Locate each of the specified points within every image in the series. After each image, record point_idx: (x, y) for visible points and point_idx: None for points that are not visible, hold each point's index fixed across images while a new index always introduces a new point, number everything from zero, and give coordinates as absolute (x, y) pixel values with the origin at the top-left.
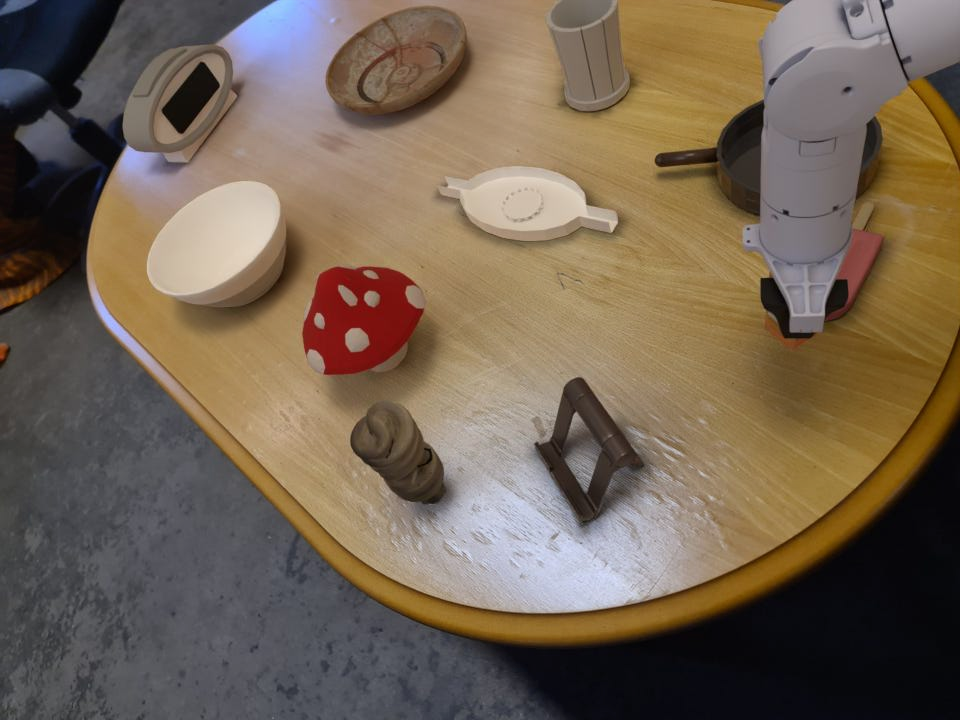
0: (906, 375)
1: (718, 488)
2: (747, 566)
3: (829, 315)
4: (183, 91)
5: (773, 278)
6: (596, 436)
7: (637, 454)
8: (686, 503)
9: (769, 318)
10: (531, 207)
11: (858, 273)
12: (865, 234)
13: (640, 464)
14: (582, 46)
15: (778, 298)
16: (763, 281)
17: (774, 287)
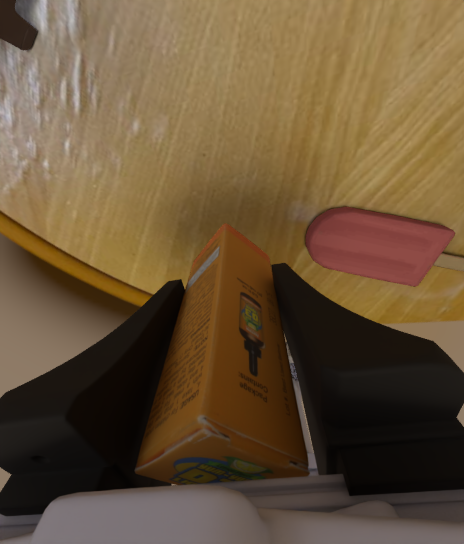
0: None
1: (61, 169)
2: (3, 216)
3: (308, 250)
4: None
5: (85, 441)
6: None
7: (32, 30)
8: (20, 134)
9: (217, 245)
10: None
11: (364, 271)
12: (422, 272)
13: (11, 43)
14: None
15: (12, 455)
16: (54, 425)
17: (44, 450)
